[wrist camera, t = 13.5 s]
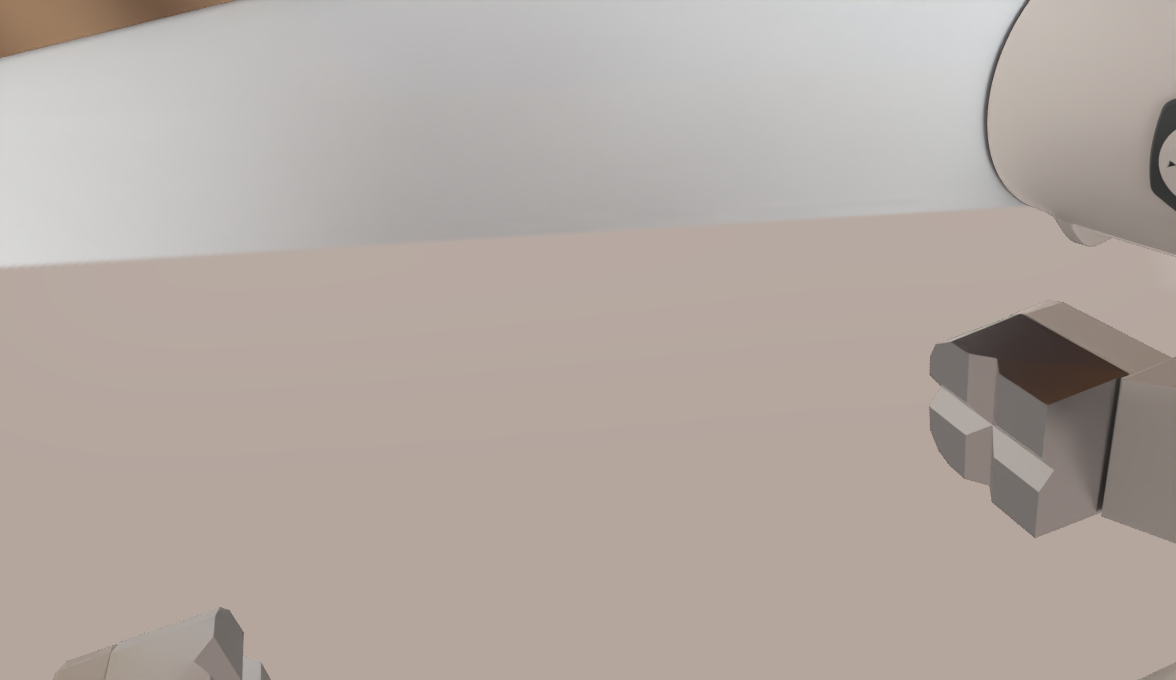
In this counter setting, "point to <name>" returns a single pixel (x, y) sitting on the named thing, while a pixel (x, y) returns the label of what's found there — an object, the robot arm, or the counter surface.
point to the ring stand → (78, 19)
